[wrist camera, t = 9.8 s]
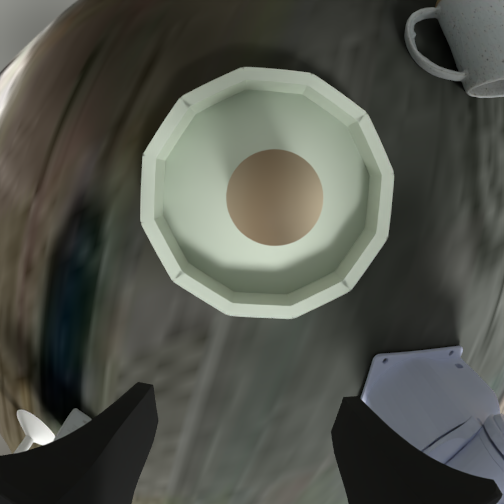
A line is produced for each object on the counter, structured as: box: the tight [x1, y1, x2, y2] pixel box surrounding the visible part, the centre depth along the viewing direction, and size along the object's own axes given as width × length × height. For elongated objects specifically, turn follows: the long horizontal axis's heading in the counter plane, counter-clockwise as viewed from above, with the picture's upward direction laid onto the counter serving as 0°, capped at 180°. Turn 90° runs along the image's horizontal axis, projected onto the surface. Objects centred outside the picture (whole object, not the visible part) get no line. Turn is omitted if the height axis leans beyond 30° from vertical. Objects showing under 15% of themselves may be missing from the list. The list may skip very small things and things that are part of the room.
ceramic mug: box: [404, 0, 504, 98], centre depth 11 cm, size 11×8×8 cm
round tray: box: [140, 67, 394, 319], centre depth 16 cm, size 14×14×3 cm
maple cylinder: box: [226, 149, 323, 246], centre depth 14 cm, size 4×4×5 cm
